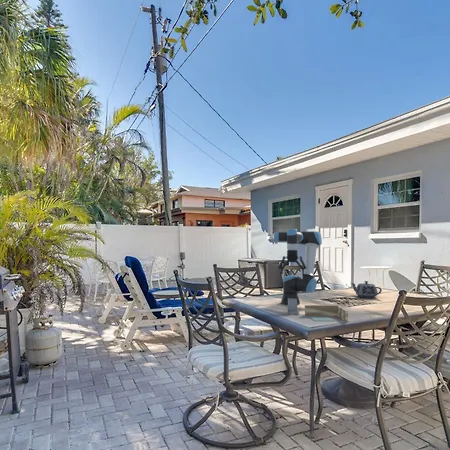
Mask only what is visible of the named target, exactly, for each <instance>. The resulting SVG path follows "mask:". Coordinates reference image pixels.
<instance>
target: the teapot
mask: <svg viewBox="0 0 450 450" xmlns="http://www.w3.org/2000/svg"><path fill="white" fill-rule="evenodd" d="M350 284H351V285H352V288H353V289H352V290H353V291H354V292H355V294H356V295H357V297H359V298H362V297H363V298H364V299H375V298H376V297H377V296H379V295H380V294H382V291H383V290H382V287H379V286H376V284H374V283H369V281H368V280H364V282H363V283H358V284H357V287H356V285H355V283H354V282H350ZM378 290H379V291H378ZM374 297H375V298H374Z"/></svg>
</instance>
